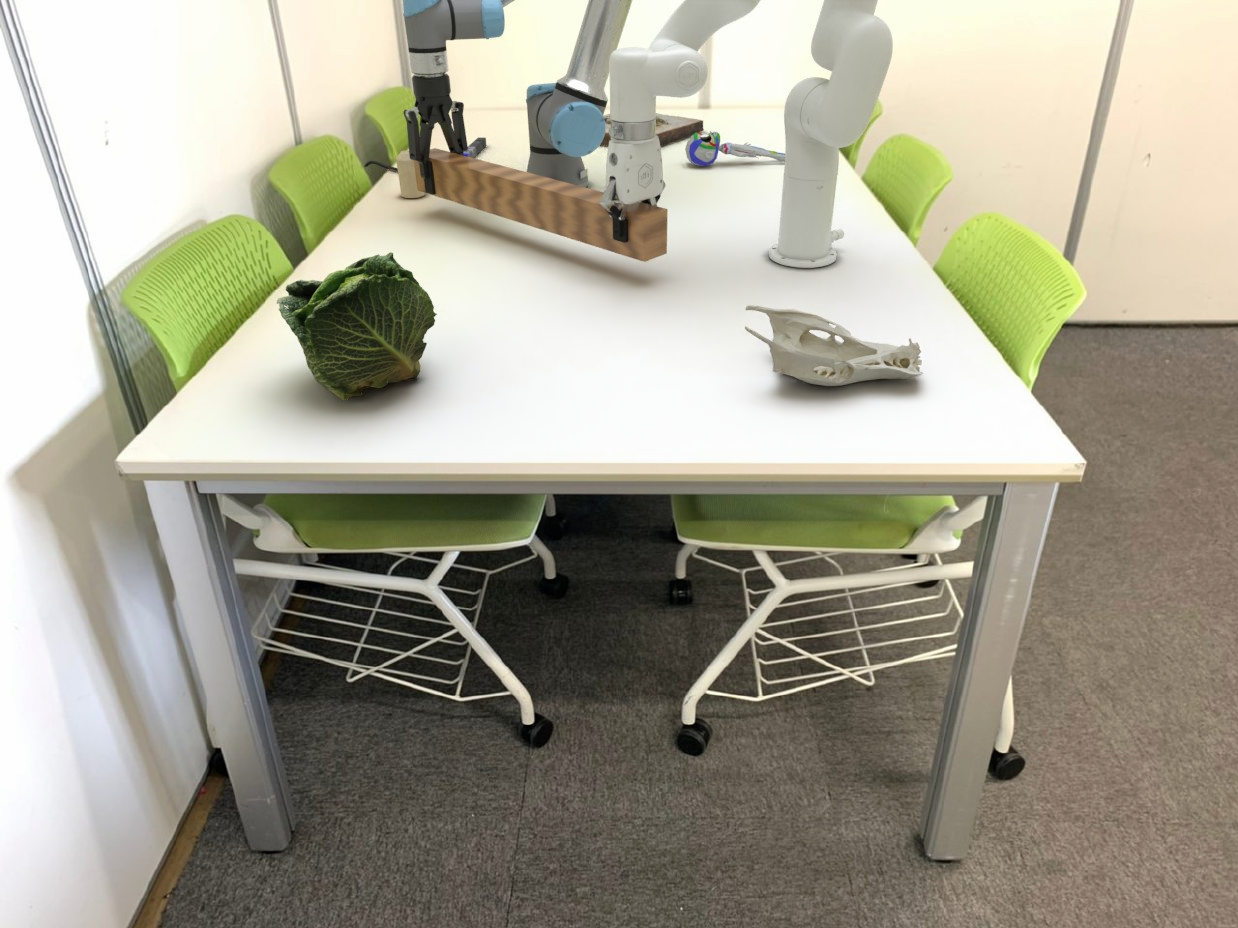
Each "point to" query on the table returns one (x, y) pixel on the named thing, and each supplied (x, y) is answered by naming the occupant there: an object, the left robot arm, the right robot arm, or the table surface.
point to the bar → (545, 204)
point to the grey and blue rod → (475, 147)
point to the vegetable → (360, 325)
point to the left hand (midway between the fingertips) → (443, 189)
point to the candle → (407, 176)
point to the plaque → (666, 128)
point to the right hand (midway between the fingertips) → (633, 235)
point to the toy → (721, 149)
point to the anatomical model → (832, 351)
